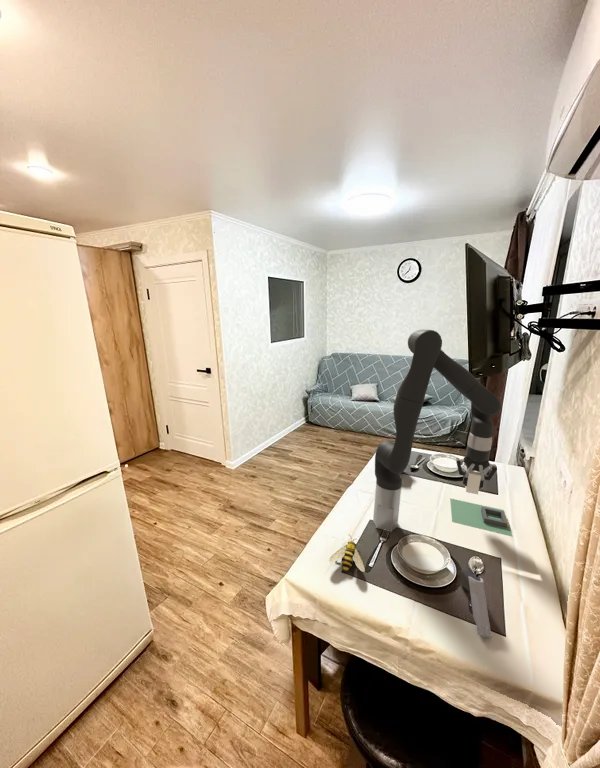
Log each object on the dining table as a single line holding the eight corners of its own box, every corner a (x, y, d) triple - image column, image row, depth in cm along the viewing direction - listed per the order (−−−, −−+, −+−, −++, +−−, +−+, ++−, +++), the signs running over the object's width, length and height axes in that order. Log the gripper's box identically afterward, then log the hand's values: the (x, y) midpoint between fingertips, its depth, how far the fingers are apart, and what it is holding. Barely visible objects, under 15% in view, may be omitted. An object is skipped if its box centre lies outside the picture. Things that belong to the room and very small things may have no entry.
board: (512, 539, 114) (513, 531, 113) (451, 524, 121) (452, 517, 120) (503, 512, 128) (504, 505, 127) (449, 500, 135) (450, 494, 135)
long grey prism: (464, 630, 89) (480, 636, 79) (457, 569, 97) (471, 567, 87) (478, 633, 88) (495, 638, 78) (470, 571, 96) (484, 569, 87)
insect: (371, 549, 109) (372, 537, 108) (363, 583, 96) (364, 570, 95) (339, 540, 113) (340, 528, 112) (327, 571, 100) (328, 558, 99)
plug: (477, 494, 117) (481, 475, 115) (466, 492, 119) (469, 473, 117) (476, 487, 121) (479, 469, 119) (464, 485, 123) (467, 467, 121)
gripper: (458, 446, 114) (452, 487, 118) (503, 453, 109) (495, 496, 113) (456, 438, 121) (451, 477, 125) (499, 444, 115) (491, 485, 120)
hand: (472, 486), depth 119 cm, fingers closed on plug, 4 cm apart
